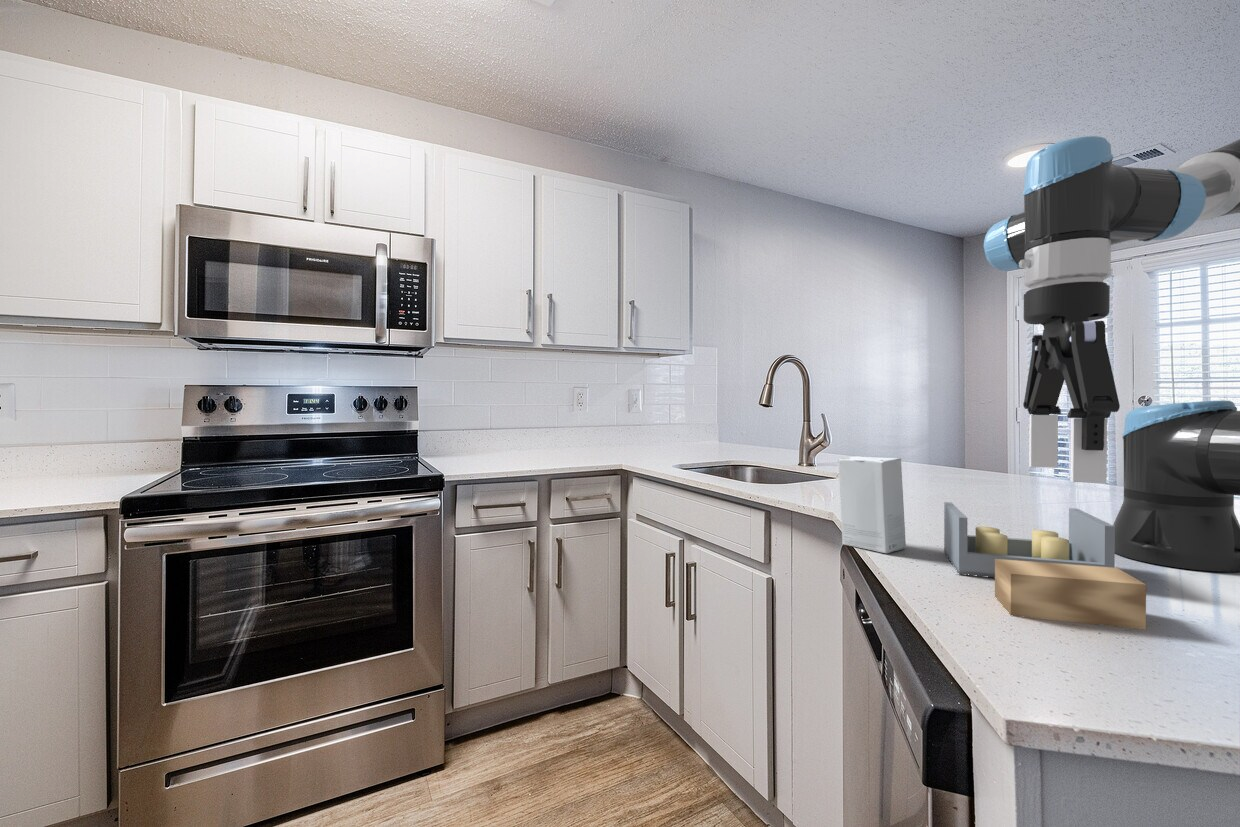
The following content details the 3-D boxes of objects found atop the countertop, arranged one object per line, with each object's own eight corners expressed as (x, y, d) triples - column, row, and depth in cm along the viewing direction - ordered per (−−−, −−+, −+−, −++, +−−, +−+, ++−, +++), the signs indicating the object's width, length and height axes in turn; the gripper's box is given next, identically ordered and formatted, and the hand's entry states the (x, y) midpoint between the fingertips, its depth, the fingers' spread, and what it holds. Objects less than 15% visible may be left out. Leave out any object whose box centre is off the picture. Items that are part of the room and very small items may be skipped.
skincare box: (906, 549, 89) (906, 458, 89) (885, 555, 86) (884, 460, 86) (859, 538, 96) (858, 454, 96) (838, 544, 93) (837, 456, 93)
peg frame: (1077, 562, 81) (1077, 508, 80) (1114, 589, 70) (1114, 526, 69) (944, 552, 87) (944, 502, 87) (959, 574, 76) (959, 517, 76)
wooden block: (1116, 610, 63) (1117, 567, 63) (1145, 631, 58) (1146, 584, 58) (994, 599, 67) (994, 558, 67) (1010, 617, 62) (1010, 573, 62)
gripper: (996, 305, 75) (995, 461, 75) (1065, 263, 52) (1063, 488, 52) (1064, 301, 72) (1063, 463, 72) (1169, 255, 49) (1166, 493, 49)
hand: (1063, 474), depth 62 cm, fingers open, 13 cm apart
